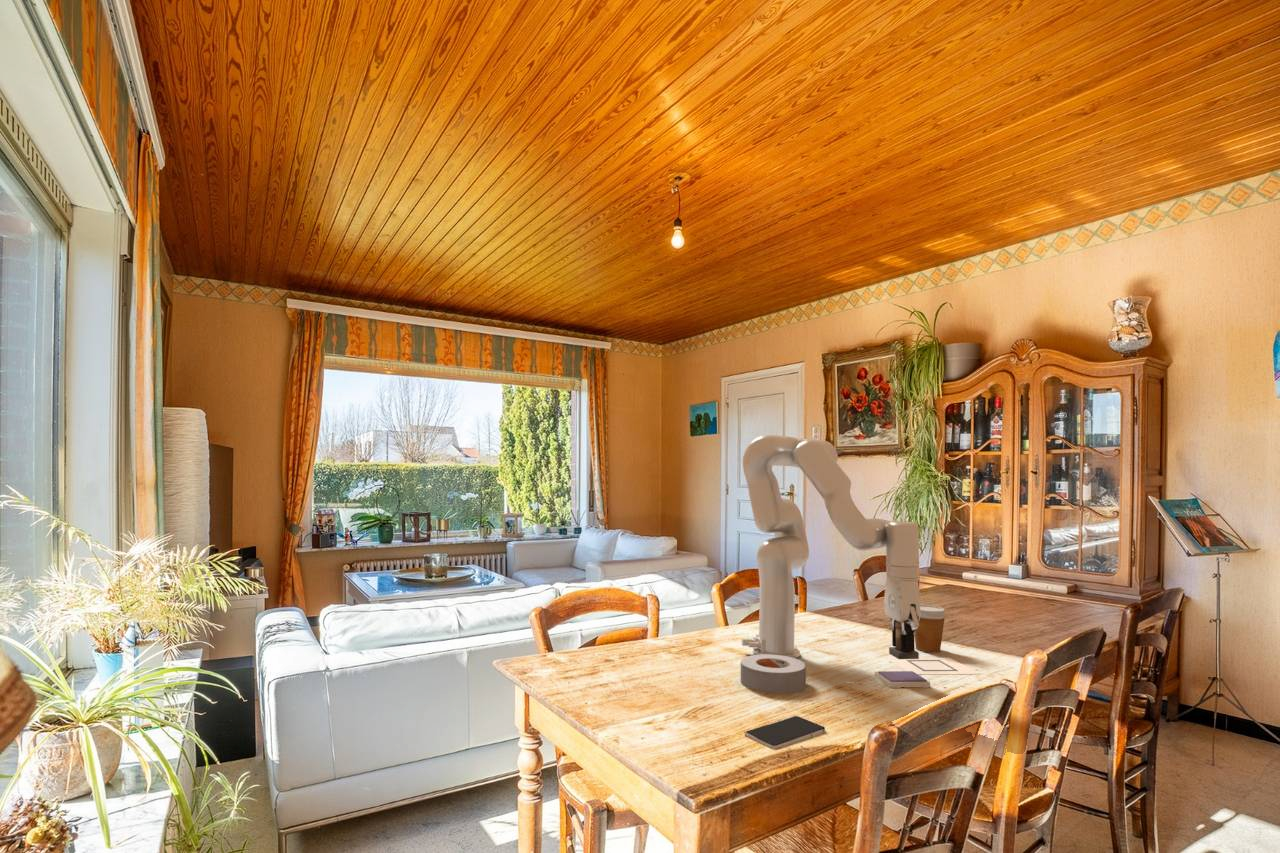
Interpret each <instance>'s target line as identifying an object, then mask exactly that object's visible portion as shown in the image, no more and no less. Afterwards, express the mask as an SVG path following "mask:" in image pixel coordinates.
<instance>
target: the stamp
mask: <svg viewBox="0 0 1280 853" xmlns="http://www.w3.org/2000/svg"><path fill="white" fill-rule="evenodd" d="M907 621H910V619H907ZM908 625H910V624H906V627H907V626H908ZM895 627H896V647H894V646H889V647H888V653H889V655H891V656H893V658H897V659H919V658H920V656H919V655H920V653H919V652H920V651H919V652H918V650H916V649H914V651H912V652H903V651H901V634H902V624H901V622H899V621H896V623H895Z"/></svg>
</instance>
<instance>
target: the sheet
mask: <svg viewBox="0 0 1280 853" xmlns="http://www.w3.org/2000/svg"><path fill="white" fill-rule="evenodd" d="M886 659H887V660H888V661H890V662H891V663H893V664H894V665H896V666H898V667H899V668H900V669H902V671H913V672H915V673H916V674H918V675H919V676H921V675H923V676H929V675H930V676H932V675H933V676H935V675H936V676H937V675H938V676H939V675H941V676H942V675H946V676H947V675H951V676H953V675H980V673H979V672H978V671H975V670H973V669H971V668H969V667H968V666H966V665H964V664H962V663H960V662H959V661H957V660H955V659H953V658H951V657H919V659H897V658H896V657H886Z"/></svg>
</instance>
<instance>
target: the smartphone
mask: <svg viewBox="0 0 1280 853" xmlns="http://www.w3.org/2000/svg"><path fill="white" fill-rule="evenodd" d="M823 733H826V727H825V726H823V725H821V724H818V723H816V722H813V721H811V720H807V719H805V718H803V717H801V716H799V715H793V716H790V717H788V718H783V719H782V720H778V721H774V722H772V723H768V724H766V725H762V726H759V727H755V728H753V729H750V730H747V731H744V736H745V737H747V738H749V739H751V740H753V741H755V742H757V743H760V744H761V745H763V746H765V747H768V748H770V749H773V750H776V749H779V748H782V747H786V746H789V745H792V744H794V743H797V742H801V741H803V740H806V739H809V738H810V739H811V738H813V737H817V736H819V735H822V734H823Z"/></svg>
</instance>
